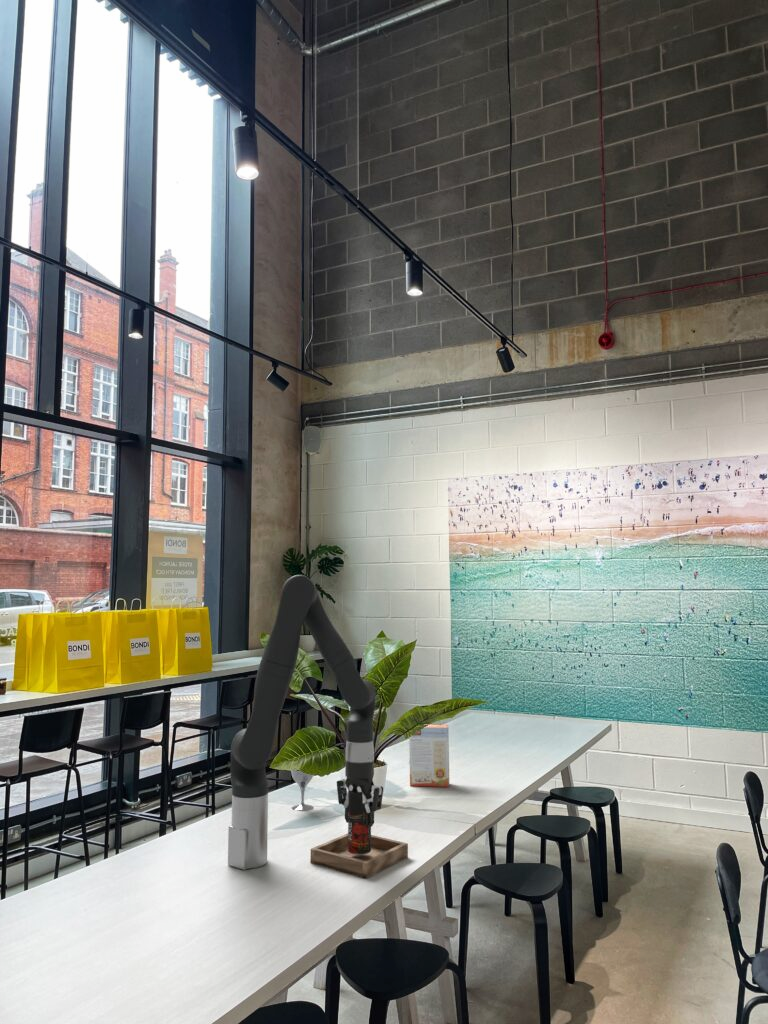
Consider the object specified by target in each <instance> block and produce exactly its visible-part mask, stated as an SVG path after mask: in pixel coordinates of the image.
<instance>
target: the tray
mask: <svg viewBox="0 0 768 1024" xmlns="http://www.w3.org/2000/svg"><path fill="white" fill-rule="evenodd" d="M408 847H409V843H407V842H403V841H397V840H395V839H391V838H386V837H382V836H377V835H373V834H371V851H370V852H369V853H367V854H352V853H349V852H348V832H347V833H346V834H343V835H341V836H339V837H336V838H333V839H331V840H329V841H326V842H324V843H321V844H319V845H317V846H314V847H312V848H310V864H312V865H316V866H320V867H324V868H327V869H330V870H334V871H337V872H342V873H345V874H348V875H352V876H356V877H359V878H363V879H368V878H370V877H372V876H375V875H377V874H378V873H380V872H382V871H384V870H386V869H388V868H390V867H392V866H394V865H396V864H398V863H400V862H401V861H403V860H405V859H407V858H409V848H408Z"/></svg>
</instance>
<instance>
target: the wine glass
mask: <svg viewBox="0 0 768 1024" xmlns="http://www.w3.org/2000/svg"><path fill="white" fill-rule="evenodd" d="M290 772H291V776H292V779H293V781H294V782H295V783H296V784H297V786H298V787H299V789H300V794H301V796H300V797H301V798H300V799H301V801H300V802H301V803H299V804H294V805H293V806H291V810H294V811H297V812H301V811H302V812H303V811H305V812H306V811H310V810H313V809H314V808H315V807H314V806H313V805H312V804H308V803H307V804H306V803H305V791H306V788H307V786H308V785H309V783H310V782H311V781H312V780H313V779H314V778H313V777H314V775H315V774H314V775H310V774H306V773H303V772H301V771H297V770H291V769H290Z"/></svg>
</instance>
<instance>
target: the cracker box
mask: <svg viewBox="0 0 768 1024" xmlns="http://www.w3.org/2000/svg"><path fill="white" fill-rule="evenodd" d="M427 725H428V726H426V727H424V728H423V729H421V730H420V731H419V732H417V733H416V734H414V735H413V736H411V737H409V736H408V737H409V741H408V742H409V743H408V744H409V748H408V749H409V750H408V751H409V786H410V787H434V788H435V787H438V788H439V787H441V788H442V787H443V788H449V786H450V741H449V737H450V735H449V725H448V724H427Z"/></svg>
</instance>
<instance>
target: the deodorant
mask: <svg viewBox="0 0 768 1024" xmlns="http://www.w3.org/2000/svg"><path fill="white" fill-rule="evenodd" d="M347 793H348V823H347V826H348V827H347V828H348V829H347V833H348V852H349V853H352V854H367V853H369V852H370V851H371V835H372V827H369V828H368V827H366V812H367V811H366V808H365V805H364V804H363V794H361V793H358V792H355V791H353V792H351V791H348V790H347ZM364 794H365V793H364ZM365 797H366V799H367V800H368V799H370V798H371V793H370V794H368V795H366V794H365ZM369 805H370V802H369Z"/></svg>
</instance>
